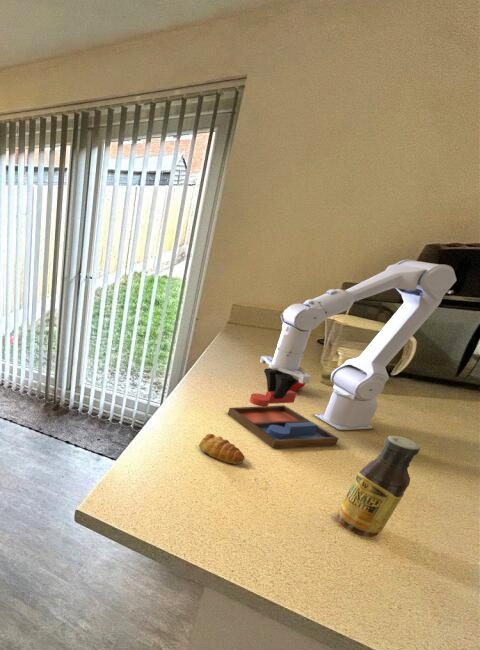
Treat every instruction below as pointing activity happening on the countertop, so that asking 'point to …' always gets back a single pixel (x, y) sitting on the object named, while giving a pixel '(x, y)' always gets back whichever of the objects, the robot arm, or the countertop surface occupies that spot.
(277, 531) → the countertop surface
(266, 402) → the red spoon
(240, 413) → the sorting tray
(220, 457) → the pastry
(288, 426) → the blue spoon
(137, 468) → the countertop surface
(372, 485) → the sauce bottle
